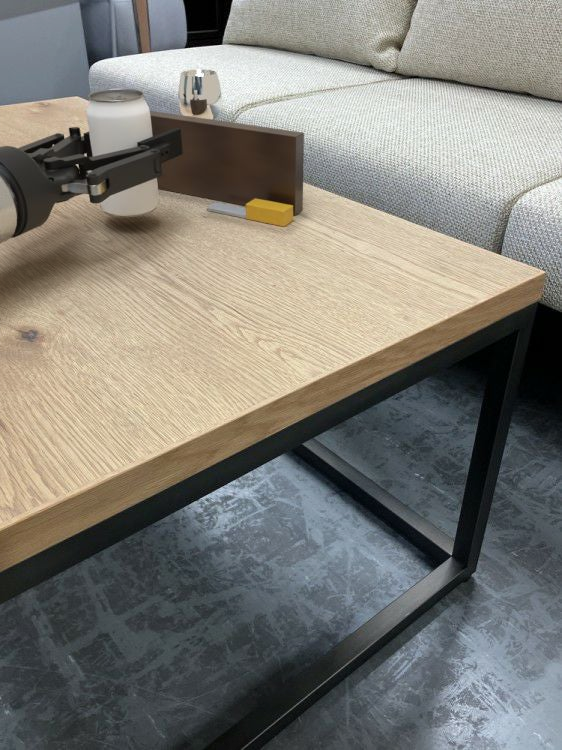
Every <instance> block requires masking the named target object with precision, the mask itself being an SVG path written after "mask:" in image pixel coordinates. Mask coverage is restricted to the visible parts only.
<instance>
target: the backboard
mask: <svg viewBox="0 0 562 750" xmlns="http://www.w3.org/2000/svg"><path fill="white" fill-rule="evenodd" d="M150 116H151V125H152V135H153V136H156V135H158V134H161V133H163V132H166V131H169V130H171V129H174V128H178V129H181V139H182V152H183V154H182V155H179V156H177V157H175V158H172V159H170V160H168V161H165V162H163V163H161V169H162V176H160V177H158V178H157V184H158V190H163V191H168V192H173V193H180V194H182V195H183V194H184V195H189V196H192V197H193V196H194V197H200V198H204V199H208V200H215V201H218V202H219V201H220V202H225V203H230V204H233V205H234V204H235V205H240V206H245V207H246V204H247V203H248V202H250V201H252V200H253V199H255V198H256V199H261V200H267V201H272V202H277V203H282V204H288V205H293V216H297V215H298V214H299V213H301V212H303V210H304V208H303V207H304V160H305V159H304V158H305V157H304V156H305V155H304V153H305V132H302V131H294V130H288V129H281V128H274V127H267V126H261V125H253V124H246V123H239V122H233V121H226V120H217V119H215V120H212V119H205V118H198V117H191V116H184V115H183V114H176V113H169V112H163V111H162V112H161V111H155V110H150Z"/></svg>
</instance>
